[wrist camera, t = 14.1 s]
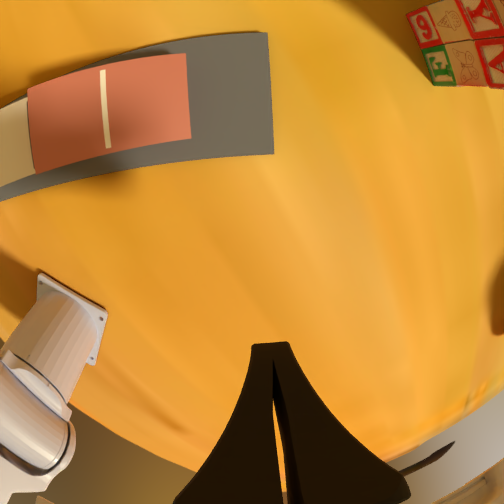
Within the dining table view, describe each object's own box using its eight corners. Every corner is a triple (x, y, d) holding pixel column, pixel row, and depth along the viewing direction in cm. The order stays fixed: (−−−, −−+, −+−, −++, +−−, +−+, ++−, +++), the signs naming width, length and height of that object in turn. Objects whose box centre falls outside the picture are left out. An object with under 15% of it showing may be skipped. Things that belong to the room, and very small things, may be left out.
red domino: (185, 137, 15) (46, 169, 13) (180, 61, 13) (38, 92, 10) (191, 138, 14) (35, 174, 11) (186, 53, 11) (27, 88, 9)
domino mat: (-18, 207, 16) (-22, 209, 16) (-30, 132, 13) (-34, 133, 12) (273, 153, 17) (274, 154, 16) (266, 35, 13) (267, 32, 12)
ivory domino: (105, 151, 15) (-3, 187, 12) (98, 81, 13) (-11, 121, 10) (101, 153, 14) (-15, 193, 11) (94, 75, 11) (-24, 121, 8)
